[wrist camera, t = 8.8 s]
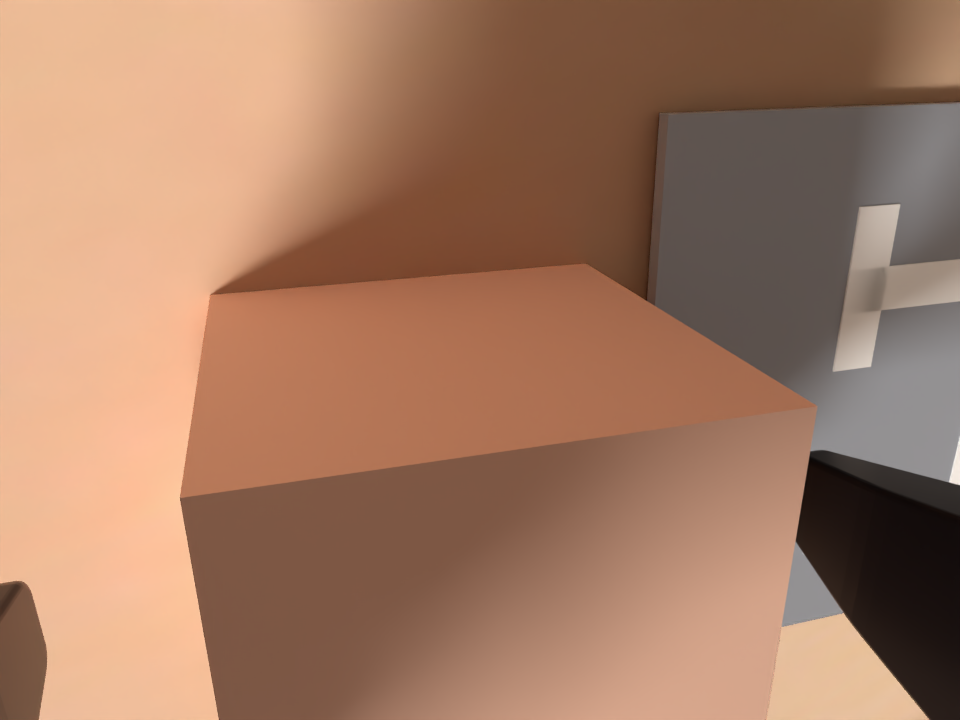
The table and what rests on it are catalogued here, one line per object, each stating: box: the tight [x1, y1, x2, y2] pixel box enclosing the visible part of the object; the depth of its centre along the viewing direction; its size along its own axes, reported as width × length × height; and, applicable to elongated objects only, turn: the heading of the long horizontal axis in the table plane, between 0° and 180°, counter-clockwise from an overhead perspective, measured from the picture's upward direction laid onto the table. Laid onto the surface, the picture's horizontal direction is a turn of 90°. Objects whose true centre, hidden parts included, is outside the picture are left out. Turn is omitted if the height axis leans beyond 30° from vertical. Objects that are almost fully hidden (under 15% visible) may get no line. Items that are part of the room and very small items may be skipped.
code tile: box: [647, 102, 960, 627], centre depth 13 cm, size 9×10×1 cm
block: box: [180, 263, 818, 720], centre depth 9 cm, size 5×5×5 cm
